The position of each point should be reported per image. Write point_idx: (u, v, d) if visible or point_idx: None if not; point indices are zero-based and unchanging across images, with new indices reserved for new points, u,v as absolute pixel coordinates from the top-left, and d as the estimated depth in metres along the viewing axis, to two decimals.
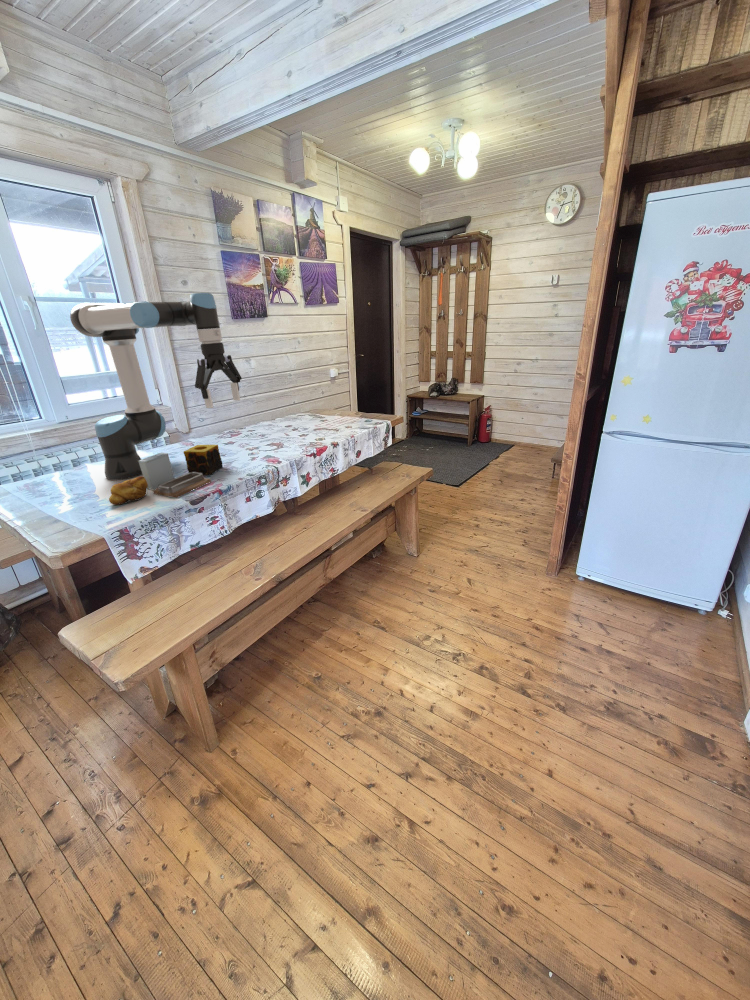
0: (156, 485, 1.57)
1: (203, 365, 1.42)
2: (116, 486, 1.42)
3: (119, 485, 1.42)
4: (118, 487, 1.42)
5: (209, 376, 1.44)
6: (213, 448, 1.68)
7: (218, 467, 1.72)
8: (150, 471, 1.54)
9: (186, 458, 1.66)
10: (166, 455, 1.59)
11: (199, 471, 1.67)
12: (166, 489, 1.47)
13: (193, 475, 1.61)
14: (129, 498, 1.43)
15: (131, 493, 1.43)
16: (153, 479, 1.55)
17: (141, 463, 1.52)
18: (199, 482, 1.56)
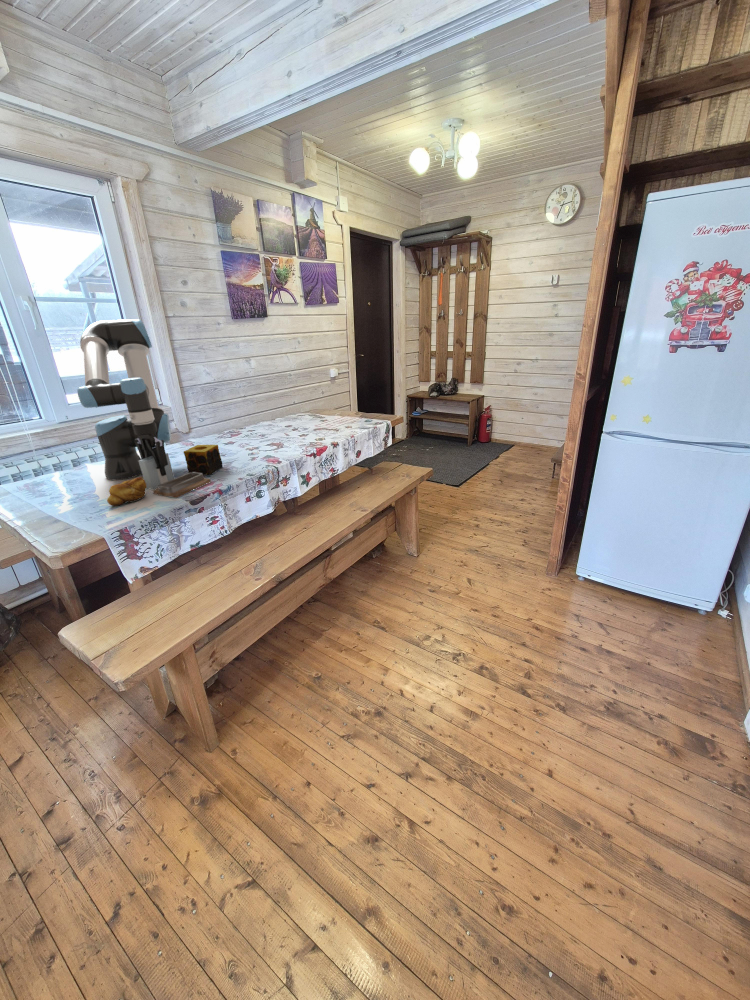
0: (156, 485, 1.57)
1: (136, 445, 1.55)
2: (114, 487, 1.42)
3: (117, 486, 1.42)
4: (116, 487, 1.41)
5: (145, 454, 1.56)
6: (213, 448, 1.68)
7: (218, 467, 1.72)
8: (150, 471, 1.53)
9: (186, 458, 1.66)
10: (166, 455, 1.59)
11: (199, 471, 1.67)
12: (166, 489, 1.47)
13: (193, 475, 1.61)
14: (127, 499, 1.43)
15: (129, 494, 1.42)
16: (153, 478, 1.55)
17: (141, 463, 1.52)
18: (199, 482, 1.56)
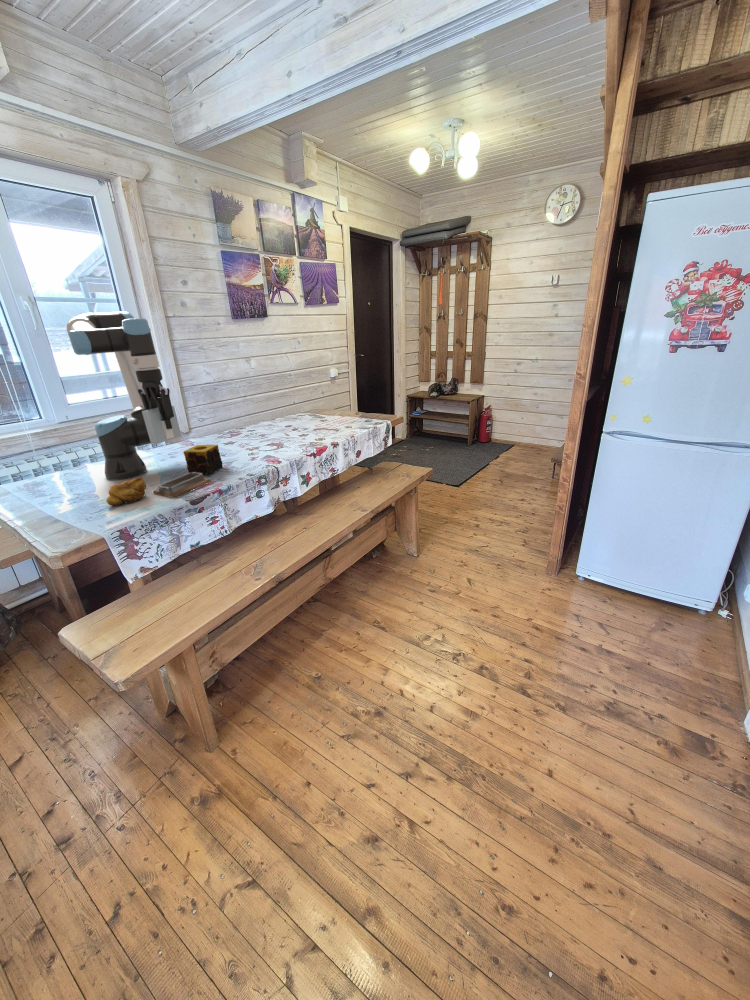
0: (161, 439, 1.44)
1: (140, 395, 1.44)
2: (114, 487, 1.41)
3: (117, 486, 1.41)
4: (115, 488, 1.41)
5: (149, 406, 1.43)
6: (213, 448, 1.68)
7: (218, 467, 1.72)
8: (154, 422, 1.41)
9: (186, 458, 1.66)
10: (172, 407, 1.46)
11: (199, 471, 1.67)
12: (166, 489, 1.47)
13: (193, 475, 1.61)
14: (126, 499, 1.42)
15: (128, 495, 1.42)
16: (157, 431, 1.43)
17: (144, 414, 1.40)
18: (199, 482, 1.56)
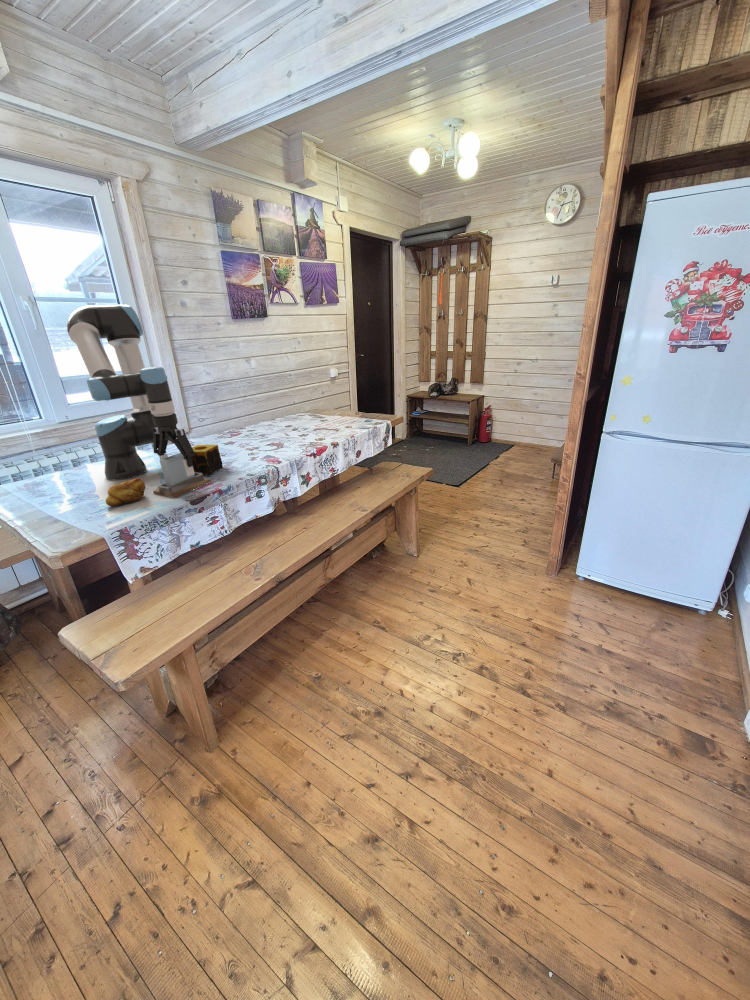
0: None
1: (153, 434, 1.49)
2: (113, 487, 1.41)
3: (116, 487, 1.41)
4: (114, 488, 1.41)
5: (160, 445, 1.50)
6: (213, 448, 1.68)
7: (218, 467, 1.72)
8: (171, 471, 1.48)
9: None
10: None
11: (199, 471, 1.67)
12: (166, 489, 1.47)
13: None
14: (125, 500, 1.42)
15: (127, 495, 1.42)
16: (174, 479, 1.50)
17: (162, 463, 1.47)
18: (199, 482, 1.56)
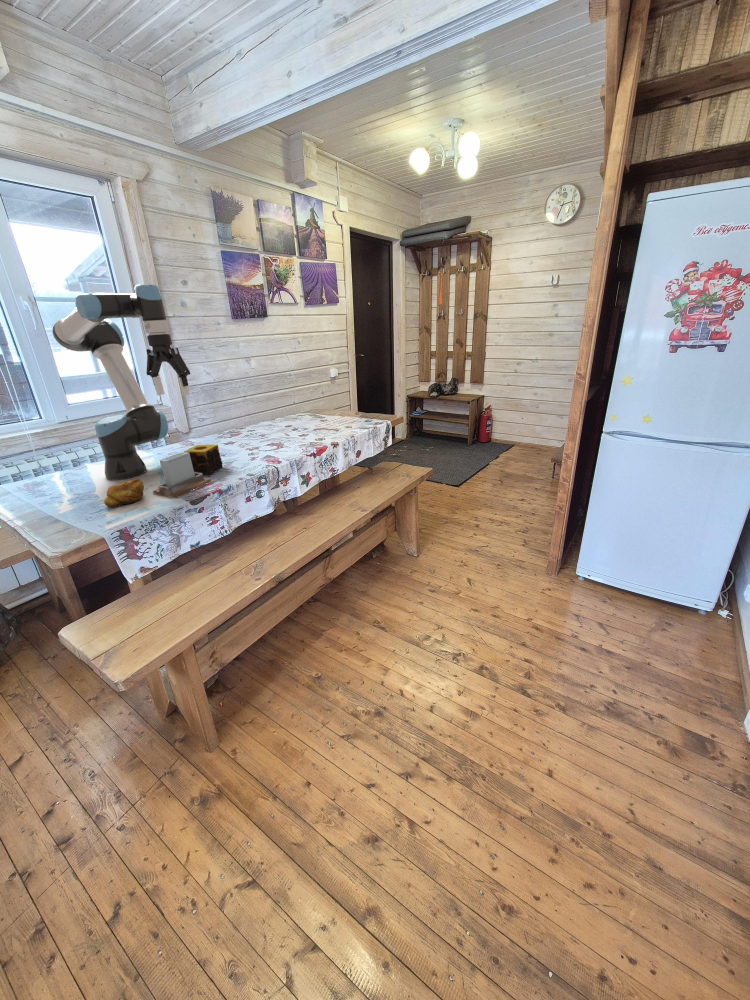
0: None
1: (147, 355, 1.52)
2: (111, 488, 1.41)
3: (114, 487, 1.41)
4: (113, 489, 1.40)
5: (153, 366, 1.53)
6: (213, 448, 1.68)
7: (218, 467, 1.72)
8: (171, 471, 1.48)
9: None
10: (187, 454, 1.53)
11: (199, 471, 1.67)
12: (166, 489, 1.47)
13: None
14: (123, 501, 1.41)
15: (125, 496, 1.41)
16: (174, 479, 1.50)
17: (162, 463, 1.47)
18: (199, 482, 1.56)
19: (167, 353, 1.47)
